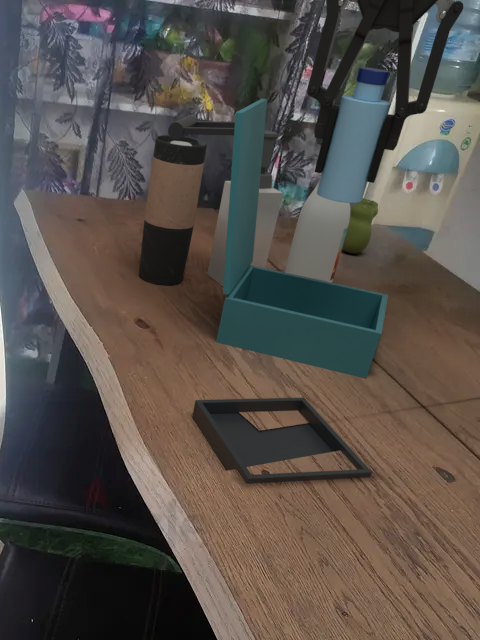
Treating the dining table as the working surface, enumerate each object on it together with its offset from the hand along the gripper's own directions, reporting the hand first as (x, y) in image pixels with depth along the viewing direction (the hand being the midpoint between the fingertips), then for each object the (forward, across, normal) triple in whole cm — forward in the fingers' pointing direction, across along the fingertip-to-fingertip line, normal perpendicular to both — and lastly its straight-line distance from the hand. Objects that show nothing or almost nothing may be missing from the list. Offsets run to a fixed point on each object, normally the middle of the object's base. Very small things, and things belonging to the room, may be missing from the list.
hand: (345, 175), depth 84 cm
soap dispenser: (+23, -15, +26) cm, 38 cm away
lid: (+5, -11, +5) cm, 13 cm away
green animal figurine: (+23, +2, +56) cm, 60 cm away
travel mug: (+23, -25, +19) cm, 39 cm away
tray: (+23, +2, -25) cm, 34 cm away
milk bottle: (+23, -3, +28) cm, 37 cm away
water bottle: (+2, 0, 0) cm, 2 cm away
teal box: (+23, 0, +5) cm, 23 cm away
